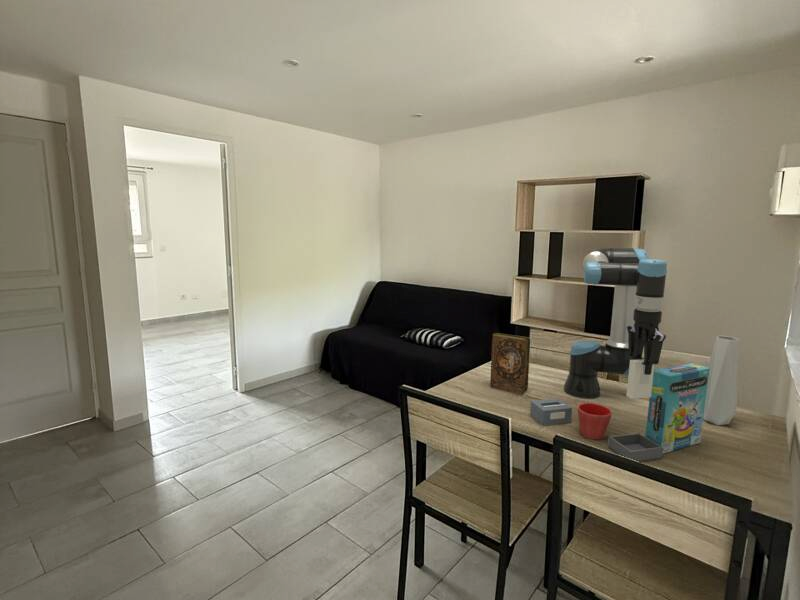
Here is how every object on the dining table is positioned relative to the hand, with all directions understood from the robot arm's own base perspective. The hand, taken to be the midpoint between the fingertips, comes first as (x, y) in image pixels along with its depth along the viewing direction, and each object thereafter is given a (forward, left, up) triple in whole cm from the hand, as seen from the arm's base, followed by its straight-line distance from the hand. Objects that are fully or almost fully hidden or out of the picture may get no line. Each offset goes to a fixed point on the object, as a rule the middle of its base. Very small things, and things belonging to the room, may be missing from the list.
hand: (640, 381), depth 135 cm
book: (+15, -60, -25) cm, 66 cm away
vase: (-48, -14, -25) cm, 56 cm away
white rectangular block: (0, 0, -5) cm, 5 cm away
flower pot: (+5, -14, -25) cm, 29 cm away
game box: (-17, -2, -25) cm, 30 cm away
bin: (0, 0, -25) cm, 25 cm away
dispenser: (+13, -28, -25) cm, 40 cm away
